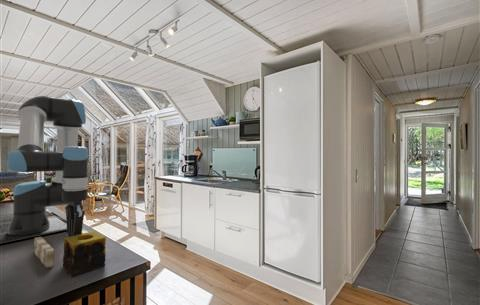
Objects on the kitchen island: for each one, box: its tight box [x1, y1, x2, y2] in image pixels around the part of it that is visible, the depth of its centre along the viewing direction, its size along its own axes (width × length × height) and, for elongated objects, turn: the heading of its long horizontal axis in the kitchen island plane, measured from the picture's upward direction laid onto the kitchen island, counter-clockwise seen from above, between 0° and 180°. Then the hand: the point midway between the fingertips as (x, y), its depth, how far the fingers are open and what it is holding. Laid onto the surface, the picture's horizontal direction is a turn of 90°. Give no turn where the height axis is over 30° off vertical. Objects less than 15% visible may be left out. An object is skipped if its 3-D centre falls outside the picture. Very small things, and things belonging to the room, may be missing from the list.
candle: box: [62, 230, 107, 277], centre depth 81 cm, size 10×10×10 cm
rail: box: [33, 236, 55, 269], centre depth 86 cm, size 18×2×6 cm, turn 51°
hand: (73, 254), depth 87 cm, fingers closed
